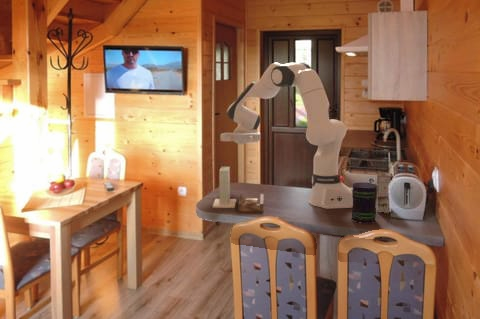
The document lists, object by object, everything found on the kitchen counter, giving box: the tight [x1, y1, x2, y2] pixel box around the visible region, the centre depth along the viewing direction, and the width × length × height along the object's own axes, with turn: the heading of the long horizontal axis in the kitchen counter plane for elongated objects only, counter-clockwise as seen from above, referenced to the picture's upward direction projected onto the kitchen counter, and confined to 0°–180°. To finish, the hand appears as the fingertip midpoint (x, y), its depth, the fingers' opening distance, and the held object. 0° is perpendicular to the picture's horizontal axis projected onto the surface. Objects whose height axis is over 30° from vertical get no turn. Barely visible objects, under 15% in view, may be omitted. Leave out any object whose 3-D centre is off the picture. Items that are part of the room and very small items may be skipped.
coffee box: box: [376, 172, 394, 214], centre depth 218 cm, size 9×6×16 cm
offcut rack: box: [237, 193, 265, 213], centre depth 226 cm, size 11×18×4 cm, turn 177°
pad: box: [212, 198, 237, 209], centre depth 230 cm, size 10×13×1 cm
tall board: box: [218, 166, 231, 205], centre depth 228 cm, size 4×10×16 cm, turn 177°
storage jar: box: [351, 182, 377, 224], centre depth 203 cm, size 10×10×15 cm
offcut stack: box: [243, 197, 258, 204], centre depth 220 cm, size 6×4×5 cm, turn 87°
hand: (239, 138), depth 242 cm, fingers open, 8 cm apart
